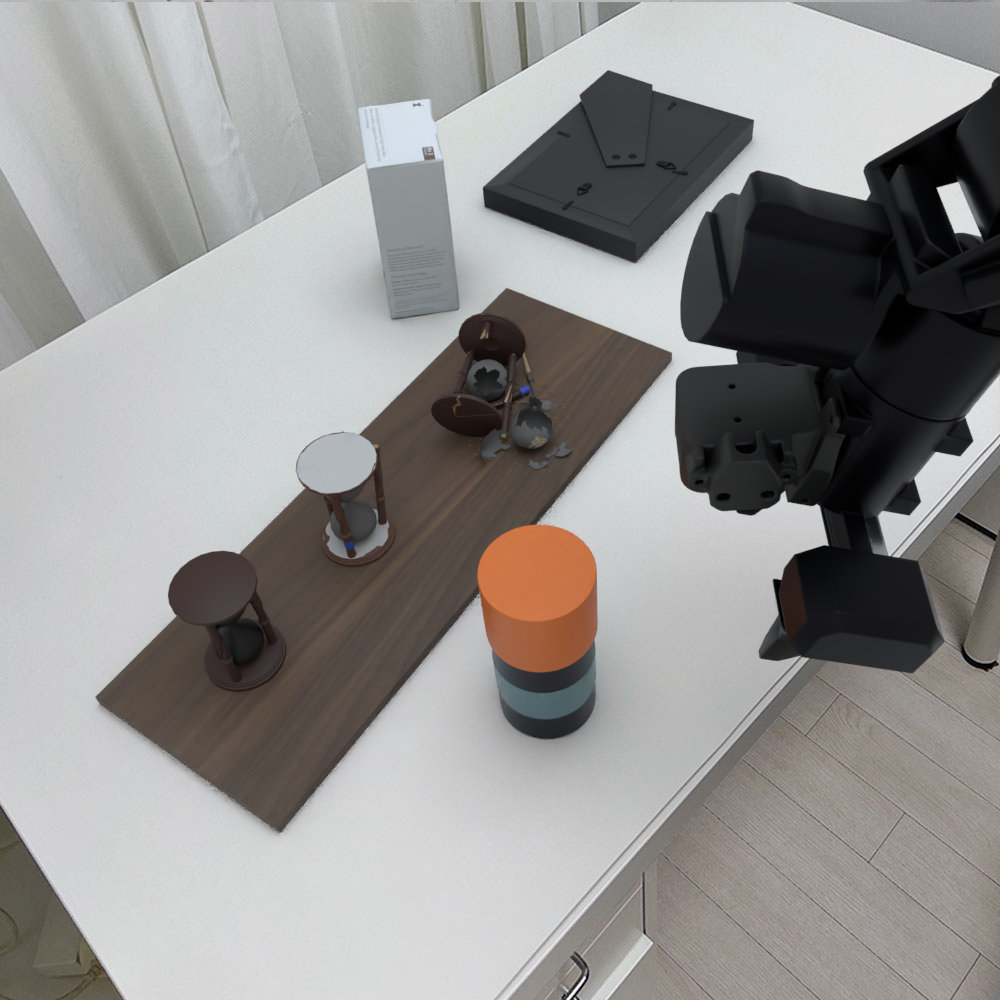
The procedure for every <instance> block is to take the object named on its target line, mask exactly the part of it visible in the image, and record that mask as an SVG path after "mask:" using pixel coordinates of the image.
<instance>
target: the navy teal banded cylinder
mask: <svg viewBox="0 0 1000 1000" xmlns="http://www.w3.org/2000/svg"><path fill="white" fill-rule="evenodd" d="M491 657H492V662H493V668H494V669H493V670H494V675H495V681H496V687H497V689H498V690H497V691H498V696H499V701H500V702H499V703H500V707H501V710H502V713H503V715H504V717H505V718H506V720H507V721H508V723H509V724H510V725H511V726H512V727H513V728H514V729H516V730H517V731H518V732H520V733H521V734H524V735H525V736H528V737H531V738H535V739H540V740H555V739H559V738H563V737H566V736H568V735H571V734H573V733H574V732H576V731H578V730H579V729H580V728H581V727H583V725H584V724H586V723H587V721H588V719H590V717H591V715H592V714H593V711H594V708H595V704H596V681H597V680H596V679H597V662H596V661H597V657H596V642H595V640H594V642H593V643H592V645H591V647H590V648H589V650H588V651H587V652H586V653H585V654H584V655H583V656H582V657H581V658H580V659H579V660H577V661H576V662H574V663H573V664H571V665H569V666H567V667H565V668H562V669H559V670H556V671H550V672H530V671H525V670H521V669H518V668H516V667H513V666H511V665H510V664H508V663H506V662H505V661H504V660H502V659H501V658H500V657H499V656H498V655H497V654H496V653H495V652H494V650H493V649H492V648H491Z"/></svg>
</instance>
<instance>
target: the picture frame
mask: <svg viewBox="0 0 1000 1000" xmlns="http://www.w3.org/2000/svg"><path fill="white" fill-rule="evenodd" d="M653 87H654V86H653V84H652V83H649V82H646V81H643V80H640V79H637V78H634V77H631V76H628V75H624V74H621V73H619V72H615V71H613V70H609V69H607V70H606V71H605V72H604V73H603V74H602V75H601V76H599V77H598V78H597V79H596V80H595V81H593V82H592V83H591V84H590V85H589V86H587V88H586V89H584V90H583V91H582V92H581V93H580V94H579V99H580V101H579V102H578V103H577V104H576V105H574V107H572V108H571V109H569V111H567V112H566V113H565V114H564V115H563V116H562V117H561V118H559V120H558V121H556V122H555V123H554V124H553V125H551V127H549V128H548V129H547V130H546V131H545V132H544V133H542V135H540V136H539V137H538V138H537V139H536V140H535V141H533V142H532V144H530V145H529V146H528V147H527V148H525V150H523V151H522V152H521V153H520V154H519V155H517V156H516V157H515V158H514V159H513V160H512V161H511V162H510V163H509V164H508V165H506V166H505V167H504V168H503V169H501V170H500V171H499V172H498V173H497V174H496V175H494V177H493V178H492V179H490V180H489V181H488V182H487V183H486V184H485V185H483V186H482V194H483V204H484V208H486V209H490V210H492V211H495V212H498V213H500V214H503V215H506V216H509V217H511V218H513V219H516V220H520V221H522V222H524V223H527V224H530V225H532V226H535V227H538V228H540V229H543V230H546V231H548V232H551V233H554V234H557V235H560V236H563V237H565V238H568V239H570V240H573V241H576V242H579V243H581V244H584V245H586V246H589V247H592V248H595V249H597V250H600V251H603V252H604V253H605V252H606V253H608V254H611V255H612V256H613V255H614V256H616V257H619V258H620V259H621V258H622V259H623V260H627V261H629V262H632V263H636V262H637V261H639V259H640V258H641V257H642V256H643V255H644V254H645V253H646V252H647V251H648V250H649V249H650V248H651V247H652V246H653V245H654V244H655V243H656V242H657V240H658V239H659V238H660V237H661V236H662V235H664V233H665V232H666V231H667V230H668V229H669V228H670V227H671V226H672V225H673V224H674V223H675V221H676V220H677V219H678V218H679V217H680V216H681V215H683V213H684V212H685V211H686V210H687V209H688V208H689V207H690V206H691V204H692V203H694V202H695V200H697V198H698V197H700V195H701V194H702V193H703V192H704V191H706V189H707V188H708V187H709V186H710V185H711V184H712V182H714V181H715V179H717V177H718V176H719V175H720V174H721V173H722V172H723V171H724V170H725V169H726V168H727V167H728V166H729V165H730V163H732V161H733V160H734V159H735V158H736V157H737V156H738V155H740V153H741V152H742V151H743V150H744V149H745V148H746V147H747V146H748V144H750V143H751V142H752V140H753V134H754V127H755V120H754V119H752V118H749V117H745V116H742V115H738V114H736V113H733V112H728V111H725V110H722V109H718V108H716V107H715V108H714V107H711V106H708V105H705V104H701V103H697V102H694V101H692V100H687V99H684V98H680V97H677V96H674V95H670V94H667V93H663V92H660V91H657V90H653Z"/></svg>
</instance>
